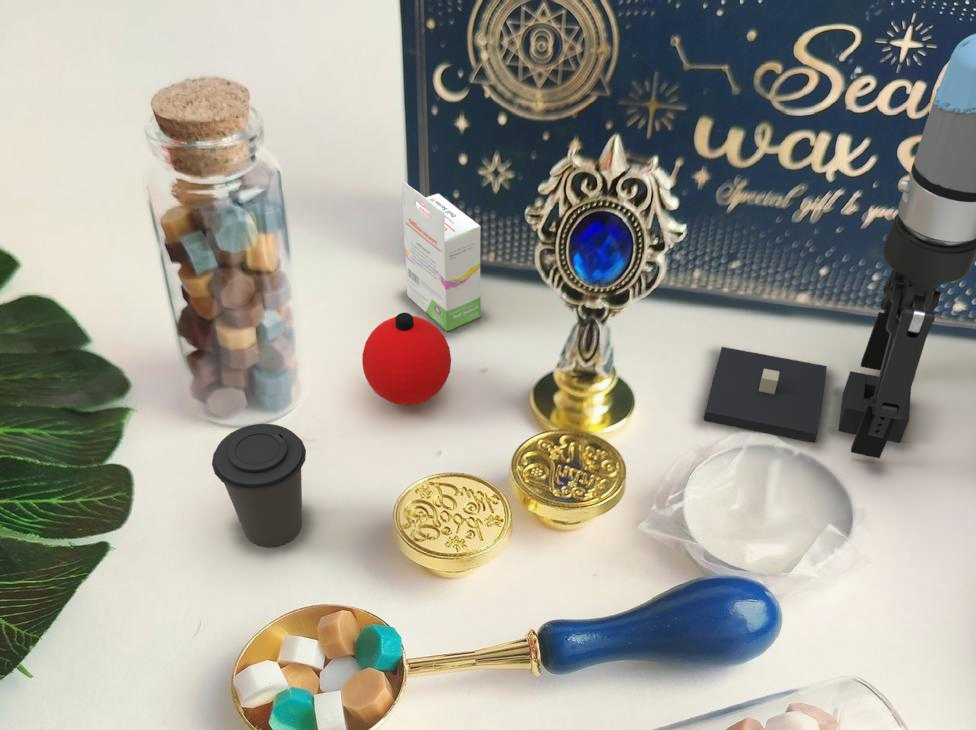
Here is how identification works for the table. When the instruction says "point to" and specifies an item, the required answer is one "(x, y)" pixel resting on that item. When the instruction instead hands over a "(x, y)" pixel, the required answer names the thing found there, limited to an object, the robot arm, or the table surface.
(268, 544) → the coffee cup
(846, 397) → the dark grey square block
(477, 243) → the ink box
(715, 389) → the base pad
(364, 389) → the table surface
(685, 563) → the table surface
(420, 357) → the ornament
